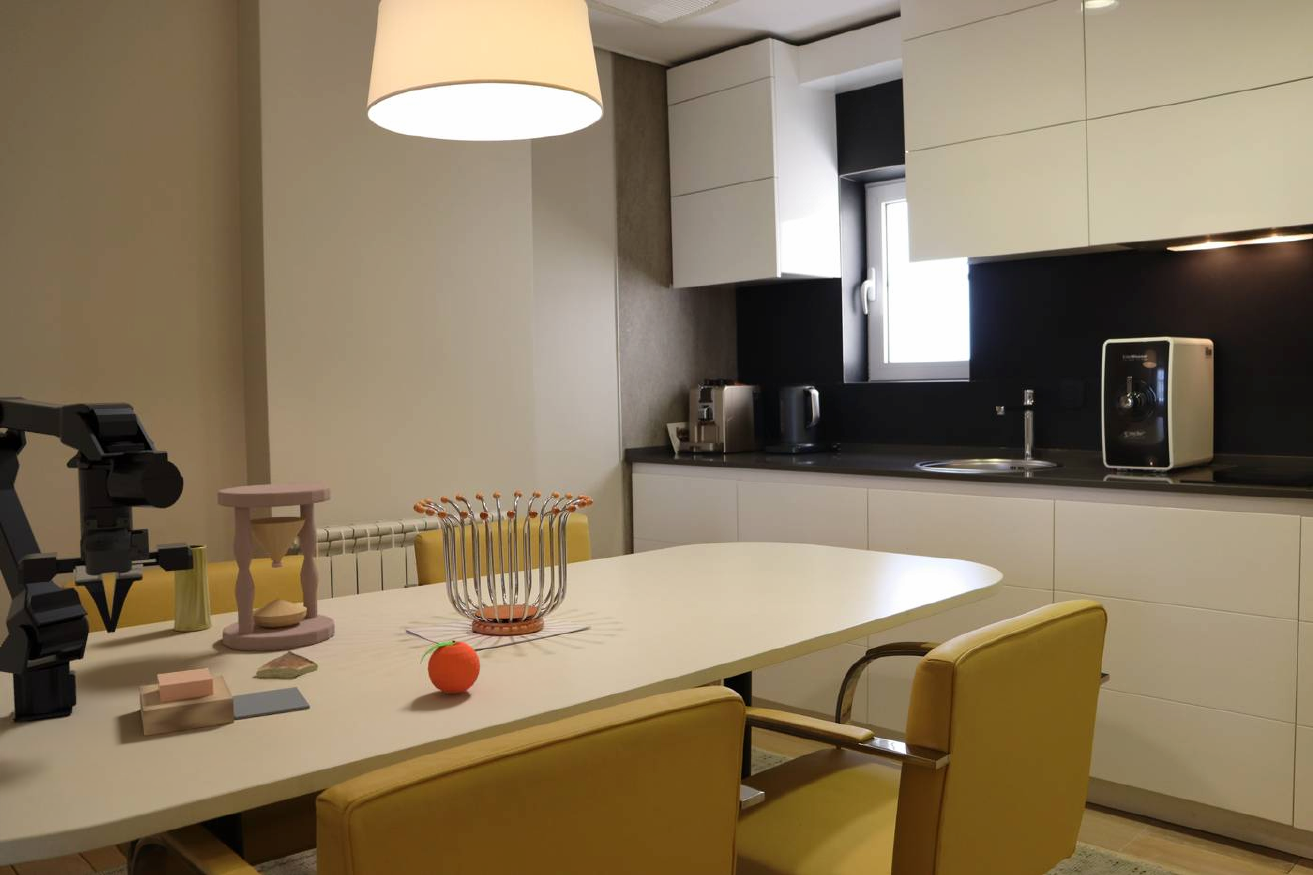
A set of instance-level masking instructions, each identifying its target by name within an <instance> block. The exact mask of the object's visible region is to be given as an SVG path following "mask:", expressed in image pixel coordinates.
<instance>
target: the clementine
mask: <svg viewBox="0 0 1313 875" xmlns="http://www.w3.org/2000/svg"><path fill="white" fill-rule="evenodd" d="M434 649H435V650H434ZM433 650H434V651H433ZM431 651H433V652H432V654H431V655H430V657H429V659H428V662H427V671H428V672H427V673H428V677H429V680H430V682H431V684H432V685H433V686H434V687H435V688H436V689H438V690H439V691H441V692H442V693H445V694H449V695H450V694H452V695H457V694H461V693H464V692H466V691H467V690H469V689H470V688H472V686H473V685H474V684H475V683H476V682H477V680H478V678H479V675H480V672H481V663H480V659H479V656H478V653H477V652H476V650H475V649H474V648H473V647H472V646H471V645H469V644H467V643H465V642H463V641H457V640H455V639H454V640H452V641H447V642H442V643H437V644H436V645H433V646H432V647H431V648H429V649H428V650H427V651H426V652H425V653H424V655H422V658H421V660H420V664H419V665H421V664H422V662H423V659H424V658H425V657H426V656H427V654H428V653H430V652H431Z"/></svg>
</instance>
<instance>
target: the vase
mask: <svg viewBox="0 0 1313 875" xmlns="http://www.w3.org/2000/svg"><path fill="white" fill-rule="evenodd" d="M188 545H189V546H190V547H191V549H192V551H193V567H194V569H190V570H179V571H173V574H174V577H173V578H174V582H173V583H174V584H173V585H174V620H173V621H174V626H173V630H174V631H175V632H181V633H185V632H186V633H188V632H198V631H204V630H208V629H211V627H212V626H213V624H212V620H211V619H212V618H211V602H210V601H211V600H210V590H209V589H210V587H209V573H208V560H207V546H206V544H188Z"/></svg>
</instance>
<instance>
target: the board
mask: <svg viewBox="0 0 1313 875" xmlns="http://www.w3.org/2000/svg"><path fill="white" fill-rule="evenodd" d="M212 678H213V695H206V696H199V697H192V698H185V699H178V700H171V701H164V702H160V697H159V693H158V683H155V684H150V685H143V686H142V685H141V686H139V707H140V716H141V722H142V728H143V735H144V737H146V736H151V735H159V734H165V733H172V732H177V731H184V730H190V729H197V728H204V727H209V726H216V725H223V724H230V723H234V722H235V718H234V707H233V697H232V696H233V695H232V693H231V691H230V688H229V686H228V684H227V682H226V680H225V678H224V676H223V675H217V676H212Z"/></svg>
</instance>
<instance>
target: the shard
mask: <svg viewBox="0 0 1313 875" xmlns="http://www.w3.org/2000/svg"><path fill="white" fill-rule="evenodd" d="M318 667H319V666H318V663H316V662H314V661H313V660H311V659H308V658H307V657H305V656H302V655H300V654H296V653H294V652H292V651H290V650H288V651H287V652H286V653H284V654H283V655H281V656H278V657H276V658H274V659H272V660H270V661H268V662H267V663H265V664H263V665H262V666H260V667H259V668H258V669H256V670H257V671H256V676H257V678H291V679H292V678H295V677H297V676H300V675H303V674H307V673H310V672H314V671H317V670H318Z"/></svg>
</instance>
